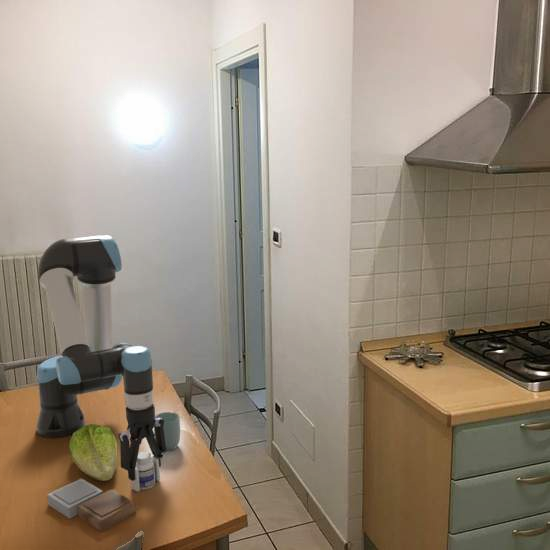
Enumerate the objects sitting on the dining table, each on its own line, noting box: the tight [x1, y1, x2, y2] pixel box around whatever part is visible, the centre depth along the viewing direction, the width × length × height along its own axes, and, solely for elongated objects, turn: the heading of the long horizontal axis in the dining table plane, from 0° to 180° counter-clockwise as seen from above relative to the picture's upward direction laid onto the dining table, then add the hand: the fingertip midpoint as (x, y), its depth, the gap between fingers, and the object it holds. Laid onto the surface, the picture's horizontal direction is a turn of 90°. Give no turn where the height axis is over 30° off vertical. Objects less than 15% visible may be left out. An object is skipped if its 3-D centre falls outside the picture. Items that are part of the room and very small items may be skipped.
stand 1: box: [46, 478, 104, 519], centre depth 164 cm, size 10×10×3 cm
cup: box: [153, 411, 181, 452], centre depth 192 cm, size 8×8×10 cm
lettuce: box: [68, 423, 118, 481], centre depth 181 cm, size 12×24×13 cm
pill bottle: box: [136, 451, 156, 490], centre depth 171 cm, size 5×5×9 cm
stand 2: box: [78, 489, 137, 533], centre depth 158 cm, size 10×10×3 cm
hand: (145, 484), depth 172 cm, fingers open, 6 cm apart
